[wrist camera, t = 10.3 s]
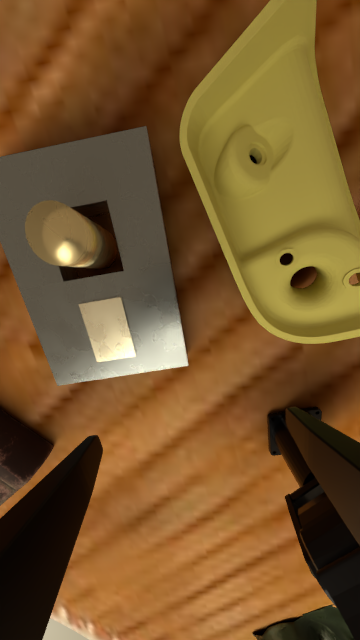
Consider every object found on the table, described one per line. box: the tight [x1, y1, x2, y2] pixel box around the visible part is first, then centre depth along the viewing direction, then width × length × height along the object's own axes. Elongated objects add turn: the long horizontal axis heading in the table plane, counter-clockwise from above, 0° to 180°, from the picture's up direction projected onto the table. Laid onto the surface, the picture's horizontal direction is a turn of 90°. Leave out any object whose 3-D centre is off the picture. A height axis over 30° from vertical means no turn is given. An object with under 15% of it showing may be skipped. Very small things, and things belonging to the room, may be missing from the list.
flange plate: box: [0, 126, 188, 386], centre depth 17 cm, size 20×14×3 cm
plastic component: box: [179, 0, 360, 344], centre depth 15 cm, size 20×8×10 cm
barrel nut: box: [25, 200, 117, 269], centre depth 15 cm, size 4×4×6 cm
